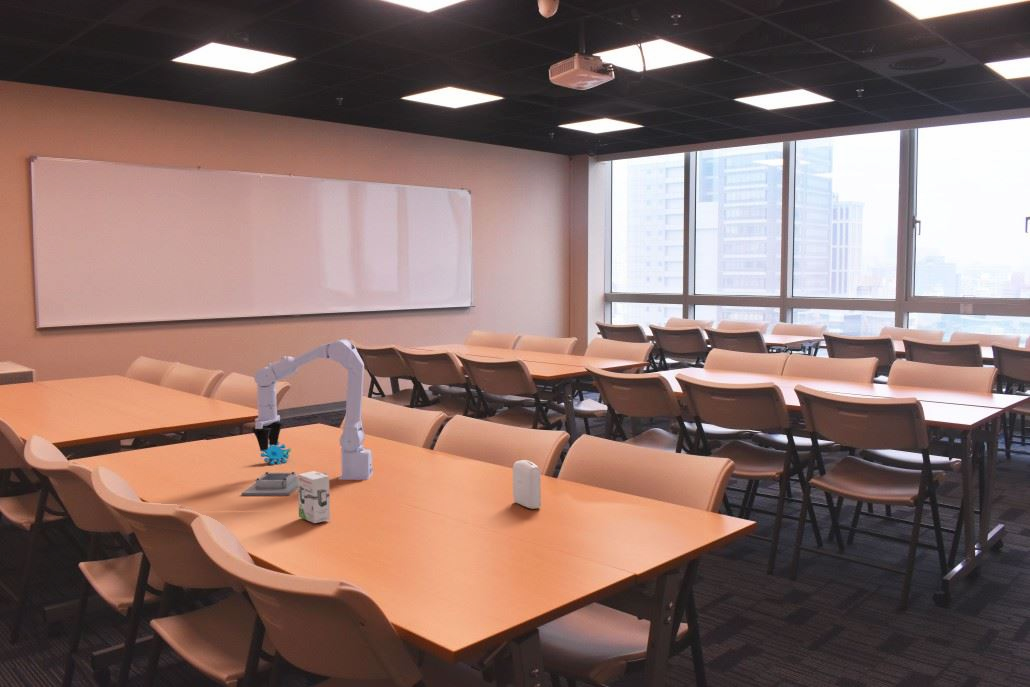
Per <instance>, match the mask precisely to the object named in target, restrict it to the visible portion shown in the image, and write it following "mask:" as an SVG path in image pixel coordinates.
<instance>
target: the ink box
mask: <svg viewBox="0 0 1030 687" xmlns="http://www.w3.org/2000/svg"><path fill="white" fill-rule="evenodd" d="M322 473H323V472H319V471H316V470H312V471H307V472H303V473H299V474H297V477H298V488H297V489H298V490H297V491H298V493H297V494H298V495H297V496H298V517H299V518H301V519H303V520H306V521H308V522H311V523H313V524H317V523H321V522H327V521H330V520H331V503H330V502H331V501H330V499H331V498H330V496H331V495H330V476H329V475H327V474H326V475H324V474H322Z"/></svg>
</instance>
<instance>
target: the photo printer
mask: <svg viewBox="0 0 1030 687" xmlns="http://www.w3.org/2000/svg"><path fill="white" fill-rule="evenodd" d="M541 485H542V484H541V470H540V467H538V465H537V464H535V463H534V462H532V461H530V460H526V459H522V460H517V461H515V462H514V464H513V467H512V492H513V493H512V495H513V497H512V498H513V502H514V503H516V504H518V505H521V506H523V507H525V508H528V509H533V510H535V509H539V508H540V507H541V505H542V496H541V494H542V491H541V490H542V488H541Z"/></svg>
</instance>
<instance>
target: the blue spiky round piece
mask: <svg viewBox="0 0 1030 687" xmlns="http://www.w3.org/2000/svg"><path fill="white" fill-rule="evenodd" d="M285 448H286V444H284V443H283V444H281V445H280V441H278V443H277V445H270V443H269V442H268V449H267V450H260V449H259V451H260V457H261V458H263V457H264V459H263V461H264V463H267V462H269V464H270V465H271V466H274V465H275V462H276V461H277V463H276V465H277V466H278V465H282V464H285V463H287V461H288V459H289V458H290V455H289V453H291V451H292V448H291V447H288V448H286V449H285ZM281 460H282V462H281Z"/></svg>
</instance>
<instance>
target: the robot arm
mask: <svg viewBox="0 0 1030 687" xmlns="http://www.w3.org/2000/svg"><path fill="white" fill-rule="evenodd" d="M318 359H326V360H327V359H331V360H332V361H334V362H336V363H338V364H340V365H341V366H342V367H343V368H345V369H346V370H347V384H346V385H347V386H346V387H347V388H346V404H345V405H346V406H345V420H344V424H343V428H342V429H343V430H342V431H343V432H342V434H341V436H340V437H339V445H340V447H341V448H340V449H341V450H340V453H341V454H340V455H341V456H340V457H341V458H340V459H341V475H340V476H339V477H338V479H337V480H339V481H342V480H343V481H346V480H347V481H348V480H350V481H355V480H360V481H364V480H367V481H369V479H370V478H371V476H373V474H374V473H373V454H372V450H371V449H365V446H364V445H363V443H364V441H365V438H366V436H365V432H364V431H365V430H364V428H363V422H362V411H363V410H362V408H363V398H364V397H363V395H364V394H363V392H364V381H365V380H364V378H365V376H364V375H365V363H364V361H363V359H362V358H361V356H360V354H359V352H358V350H357V347H356V345H355V344H353V343H352V342H351V341H350V340H348V339H347V338H346V339H345V338H340V339H338V340H335V341H332V342H329V343H324V344H321V345H319V346H316V347H314V348H312V349H310V350H308V351H307V352H304V353H302V354H301V355H298V356H296V357H294V356H293V357H292V356H290V355H288V356H286V355H284V356H281V357H280V359H279V360H278V361H276V362H273V363H271V362H270V363H268V364H267V366H266V367H261V368H259V369H258V370H257V371H256V372H255V374H254V382H255V383H256V386H257V387H256V389H257V391H256V393H257V394H256V395H257V416H258V417H257V418H255V419H254V422H255V423H254V427H252V433H253V434H254V436H255V437H256V440H257V443H258V447H259V451H260V450H267V449H268V447H269V446H270V445H272V446H274V445H276V446H278V445H277V443H278V442H279V437H280V434H281V430H282V427H283V425H284V422H283V421H281V416H280V414H278V408H277V406H278V405H277V404H278V403H277V388H276V387H277V386H276V382H277V381H282V380H283V379H285V378H287V377H290V376H292V375H294V374H296V373H297V372H298V370H299V369H300V367H301V366H304V365H306V364H308V363H311V362H313V361H315V360H318ZM269 443H270V445H269Z"/></svg>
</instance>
